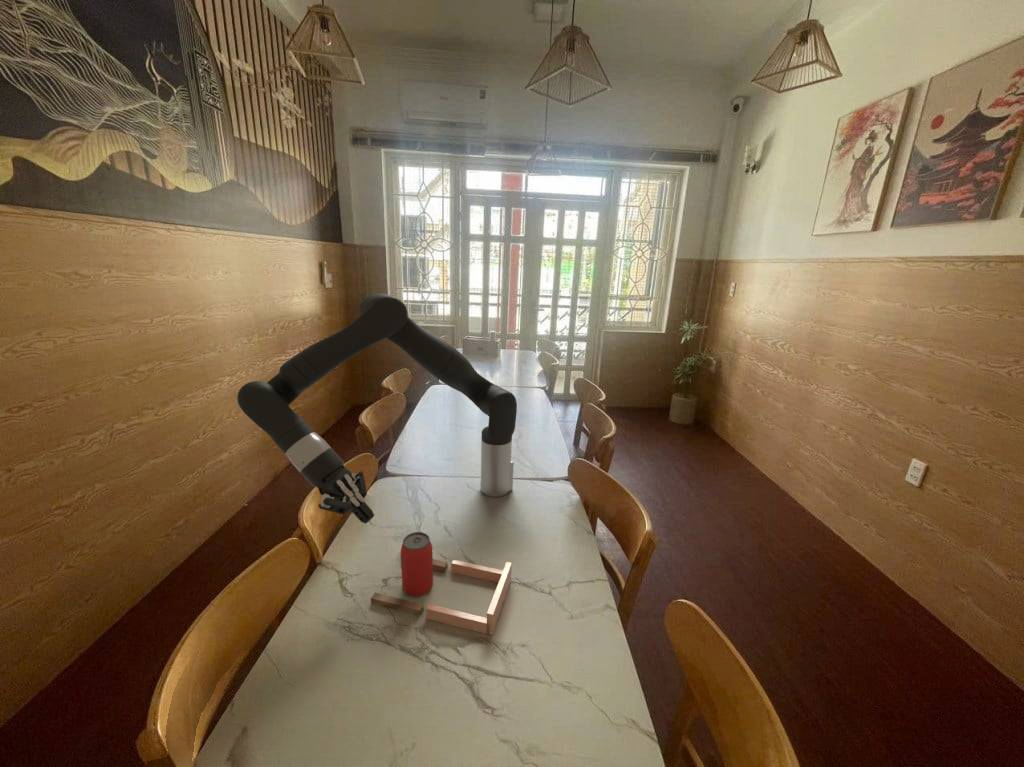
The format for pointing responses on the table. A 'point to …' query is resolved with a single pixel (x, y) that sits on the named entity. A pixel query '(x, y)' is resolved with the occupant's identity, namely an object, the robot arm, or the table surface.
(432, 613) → the terracotta bay
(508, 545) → the table surface
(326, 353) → the robot arm
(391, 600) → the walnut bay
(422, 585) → the beer can
